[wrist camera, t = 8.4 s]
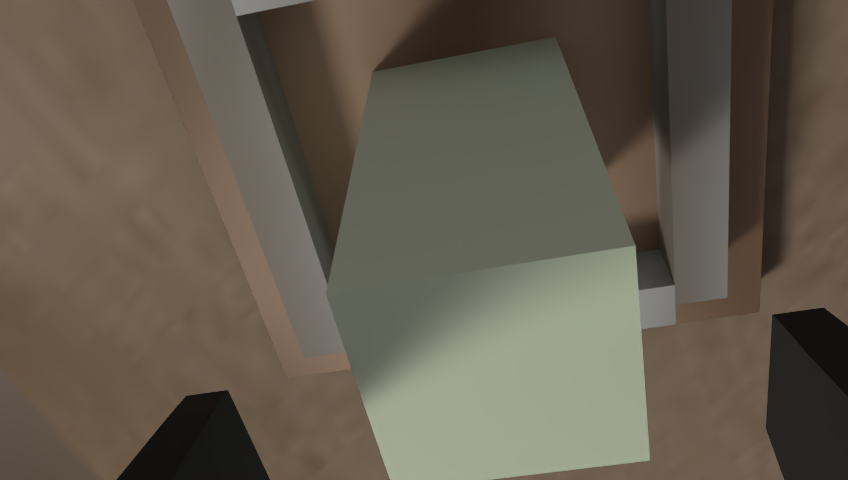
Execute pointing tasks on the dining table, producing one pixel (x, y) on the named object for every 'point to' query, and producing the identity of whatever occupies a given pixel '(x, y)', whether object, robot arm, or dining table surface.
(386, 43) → the socket plate
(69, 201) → the dining table surface
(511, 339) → the peg
